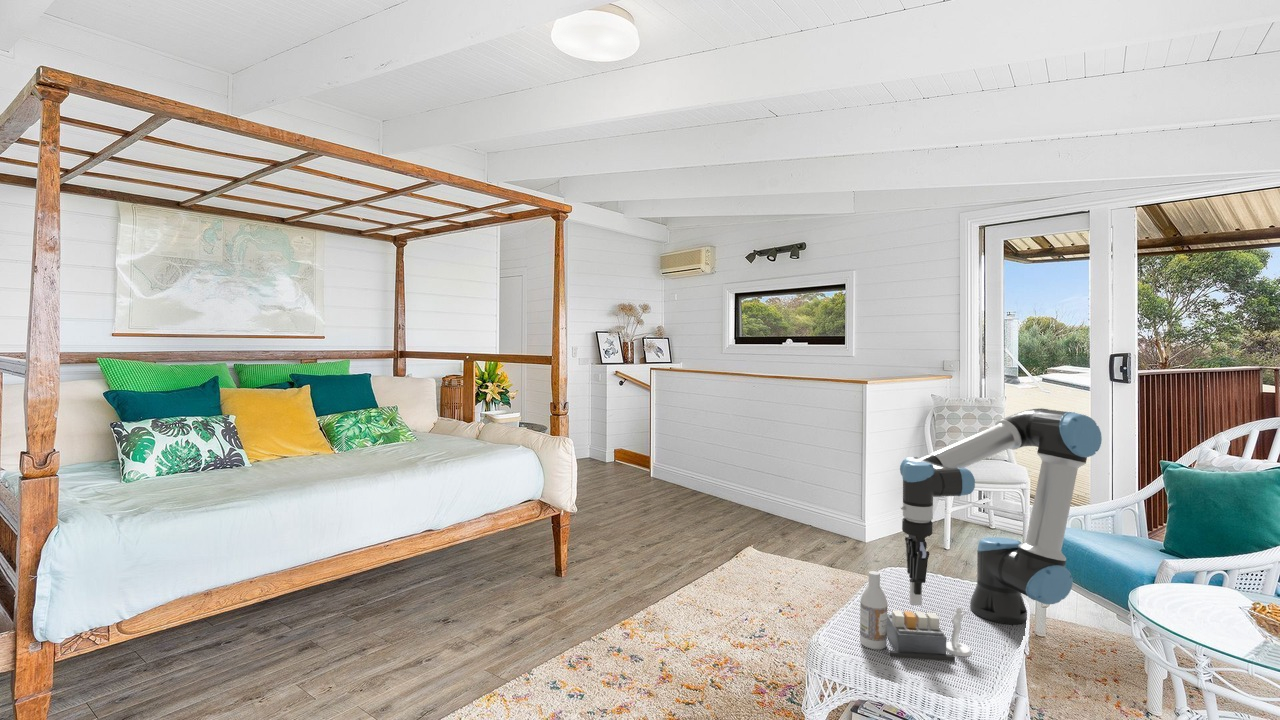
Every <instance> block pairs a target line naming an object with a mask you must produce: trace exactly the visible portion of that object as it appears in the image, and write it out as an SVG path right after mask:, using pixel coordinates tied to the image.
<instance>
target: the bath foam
mask: <svg viewBox="0 0 1280 720" xmlns="http://www.w3.org/2000/svg"><path fill="white" fill-rule="evenodd" d="M859 607H860V608H859V610H860V615H859V641H860V643H861V644H862V646H864V647H865V648H868V649H871V650H882V649H883V650H884V649H885V648H886V647H887V646H888V645H887V644H888V643H887V640H888V637H887V614H888V601H887V596H886V594H885V592H884V591H883V589H882V588H881V574H880V572H879V571H876V570H870V571H869V572H868V585H867V586H866V587H865V588H864V590H863V592H862V593H861V596H860V605H859Z"/></svg>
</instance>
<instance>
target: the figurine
mask: <svg viewBox="0 0 1280 720" xmlns="http://www.w3.org/2000/svg"><path fill="white" fill-rule="evenodd" d="M951 611H952V612H955V613H954V614H953V616H952V619H951V623H952V625H953V626H952V627H953V629H952V634H951V641H946V653H947V654H952V655H954V656H957V657H970V656H972V655H973V652H972V649H971V648H970V647H969V646H968V645H967V644H965V643H962V642H959V636H960V633H961V630H962V621H963V616H965V615H967V614H969V613H970V612H969V610H967V609H965V610H962V607H961V606H957V607H956V609H955V610H954V609H953V610H951Z"/></svg>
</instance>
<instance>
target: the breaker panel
mask: <svg viewBox="0 0 1280 720" xmlns="http://www.w3.org/2000/svg"><path fill="white" fill-rule="evenodd" d="M887 640H888V641H889V643H890V644H891V646H892V647H893V651H898V652H906V653H920V654H935V655H946V654H947V651H946V642H947V636H946V634H945V633H944V631H942V629H941V628H940V627H939V630H938V629H930V628H929V626H928V625H927V629H922V628H918V626H917V625H916V628H907V626H906V625H905V623H904V627H895V625H894V623H893V622H892V613H887Z"/></svg>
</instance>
